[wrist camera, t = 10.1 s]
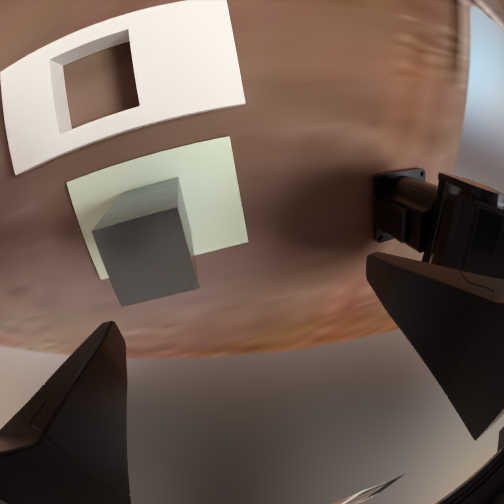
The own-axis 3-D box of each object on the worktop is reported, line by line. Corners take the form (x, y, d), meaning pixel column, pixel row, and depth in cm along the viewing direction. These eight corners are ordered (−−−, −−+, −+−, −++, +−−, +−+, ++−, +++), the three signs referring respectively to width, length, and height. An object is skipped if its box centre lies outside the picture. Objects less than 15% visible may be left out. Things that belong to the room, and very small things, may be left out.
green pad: (228, 136, 19) (229, 136, 18) (246, 239, 22) (248, 241, 22) (68, 181, 17) (66, 182, 16) (102, 276, 20) (101, 280, 20)
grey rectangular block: (178, 177, 19) (177, 207, 11) (191, 230, 20) (199, 287, 13) (123, 192, 18) (91, 231, 11) (139, 244, 20) (121, 306, 13)
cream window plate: (219, 9, 14) (225, -5, 12) (237, 106, 18) (245, 103, 16) (16, 75, 12) (0, 72, 10) (31, 169, 16) (15, 175, 13)
